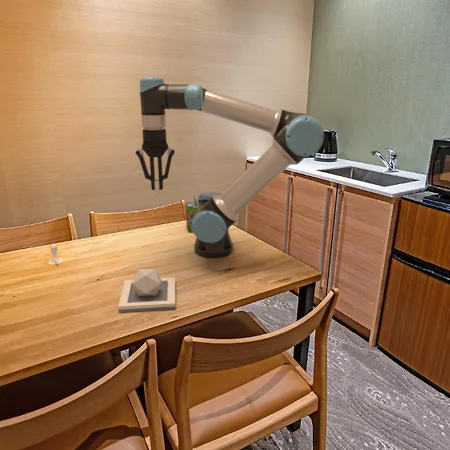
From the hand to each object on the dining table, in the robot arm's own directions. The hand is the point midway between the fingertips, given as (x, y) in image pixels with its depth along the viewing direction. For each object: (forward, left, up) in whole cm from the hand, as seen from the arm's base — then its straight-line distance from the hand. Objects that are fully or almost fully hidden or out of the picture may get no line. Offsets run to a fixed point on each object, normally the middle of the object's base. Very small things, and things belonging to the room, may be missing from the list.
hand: (157, 198), depth 134 cm
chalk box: (-15, -35, -25) cm, 45 cm away
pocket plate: (+3, +24, -24) cm, 34 cm away
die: (+3, +23, -24) cm, 33 cm away
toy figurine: (+38, -5, -25) cm, 46 cm away
